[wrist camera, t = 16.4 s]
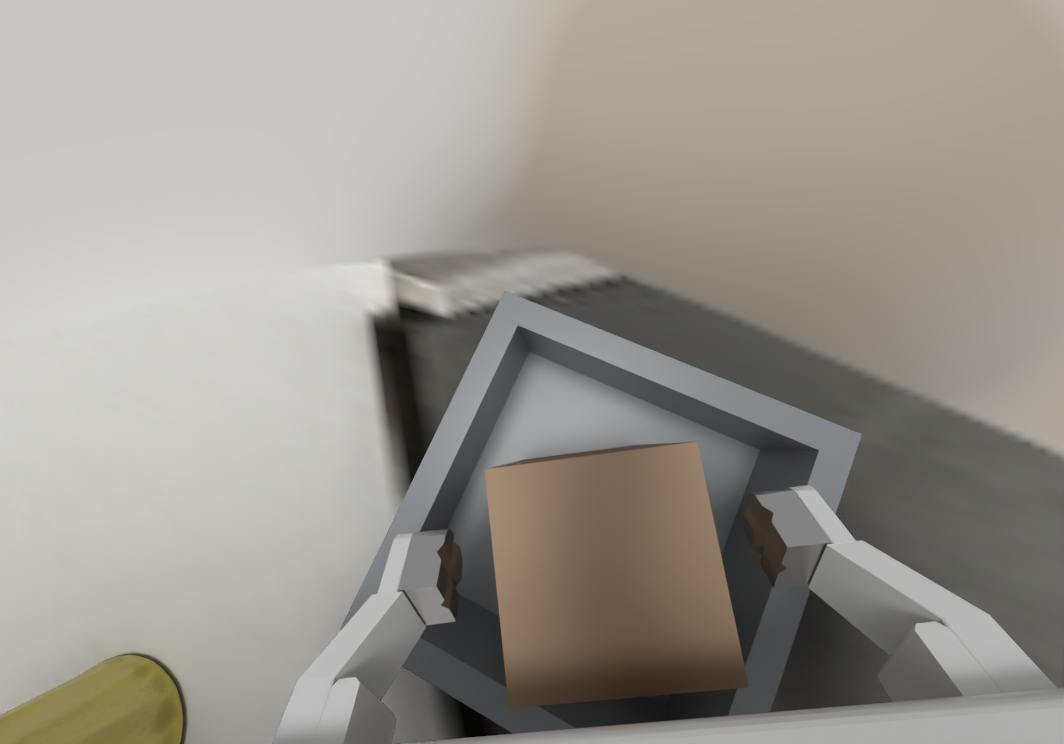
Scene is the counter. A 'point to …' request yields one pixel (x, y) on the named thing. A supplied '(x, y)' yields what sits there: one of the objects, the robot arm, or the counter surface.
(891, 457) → the counter surface
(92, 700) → the vase
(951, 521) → the counter surface
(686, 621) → the block
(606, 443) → the bin
